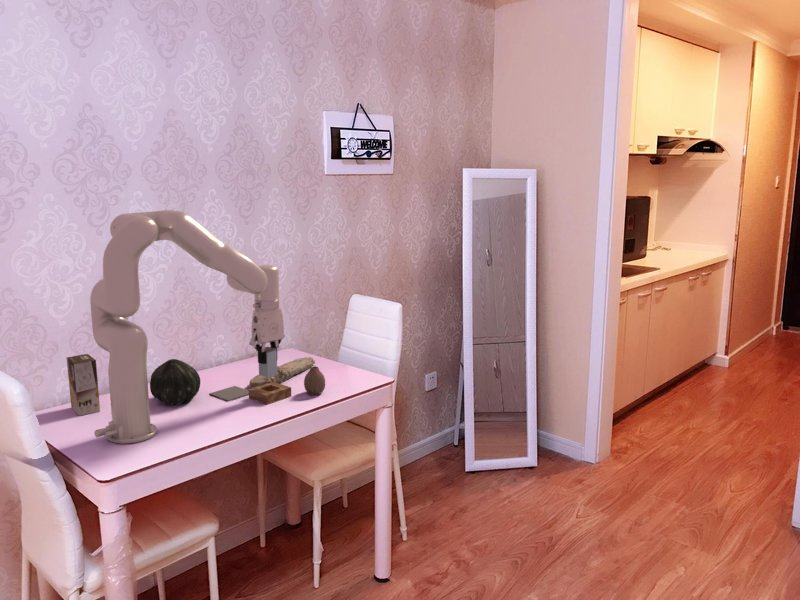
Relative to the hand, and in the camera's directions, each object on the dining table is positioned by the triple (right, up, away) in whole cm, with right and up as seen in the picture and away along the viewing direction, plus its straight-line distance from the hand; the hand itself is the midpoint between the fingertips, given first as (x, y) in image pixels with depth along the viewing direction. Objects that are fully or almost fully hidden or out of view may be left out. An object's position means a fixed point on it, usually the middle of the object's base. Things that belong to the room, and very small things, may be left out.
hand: (267, 361), depth 205 cm
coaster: (-13, -11, +6) cm, 18 cm away
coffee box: (-53, -14, -9) cm, 56 cm away
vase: (+14, -11, +7) cm, 19 cm away
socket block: (0, -12, +3) cm, 12 cm away
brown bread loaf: (+1, -8, +25) cm, 26 cm away
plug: (0, -4, +1) cm, 4 cm away
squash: (-29, -13, -1) cm, 31 cm away
